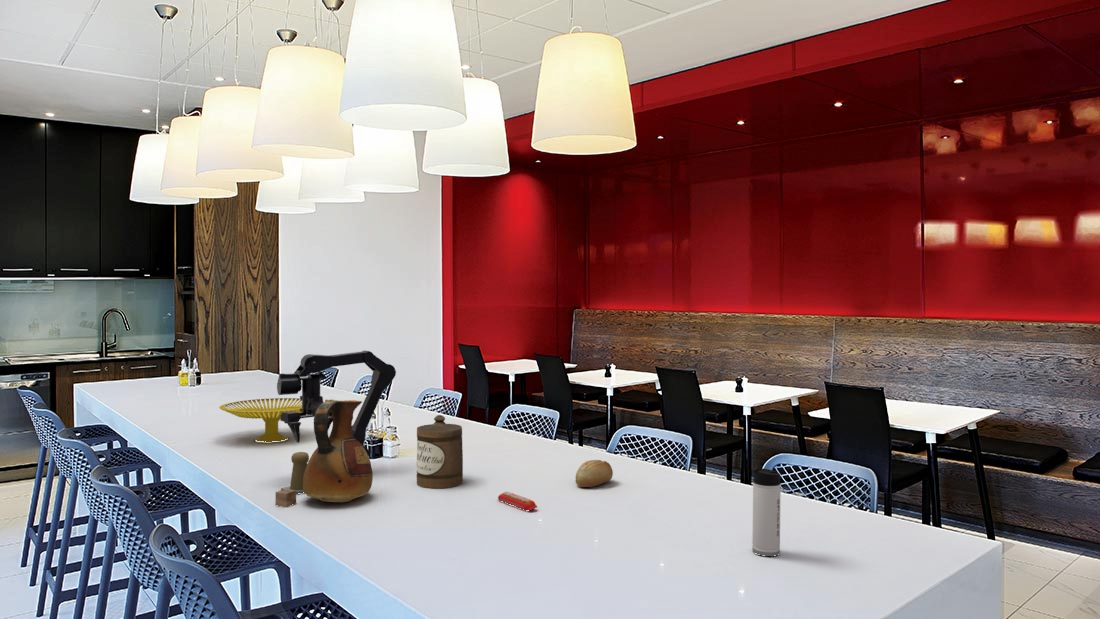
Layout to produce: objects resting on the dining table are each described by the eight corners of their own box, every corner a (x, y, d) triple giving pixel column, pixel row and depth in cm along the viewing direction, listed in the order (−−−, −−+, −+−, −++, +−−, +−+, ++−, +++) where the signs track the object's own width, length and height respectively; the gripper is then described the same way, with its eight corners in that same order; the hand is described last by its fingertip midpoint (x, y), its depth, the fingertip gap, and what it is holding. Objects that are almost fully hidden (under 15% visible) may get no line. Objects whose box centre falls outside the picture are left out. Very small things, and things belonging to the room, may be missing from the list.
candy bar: (495, 501, 217) (495, 491, 217) (505, 499, 219) (505, 489, 219) (528, 514, 205) (528, 503, 204) (538, 511, 207) (538, 501, 207)
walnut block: (285, 502, 214) (285, 488, 214) (296, 504, 212) (296, 490, 212) (275, 505, 210) (275, 492, 210) (286, 507, 209) (286, 493, 209)
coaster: (304, 485, 233) (304, 483, 233) (318, 490, 227) (318, 487, 227) (281, 490, 227) (281, 487, 227) (293, 495, 221) (293, 492, 221)
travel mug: (747, 548, 177) (748, 466, 176) (773, 547, 177) (774, 465, 177) (756, 557, 170) (757, 472, 170) (784, 557, 171) (785, 471, 171)
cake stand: (302, 450, 286) (302, 412, 285) (200, 449, 286) (200, 411, 286) (334, 431, 326) (334, 398, 326) (244, 430, 326) (244, 397, 326)
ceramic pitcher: (385, 493, 224) (385, 396, 223) (346, 512, 205) (346, 405, 204) (330, 488, 230) (330, 393, 229) (288, 505, 211) (288, 401, 210)
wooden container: (407, 483, 237) (407, 415, 236) (443, 475, 248) (443, 410, 247) (436, 491, 227) (436, 420, 226) (472, 482, 238) (472, 415, 237)
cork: (303, 490, 223) (303, 455, 223) (285, 489, 225) (285, 454, 224) (314, 485, 229) (314, 450, 229) (296, 484, 231) (296, 450, 230)
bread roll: (620, 483, 239) (621, 458, 238) (592, 492, 227) (592, 466, 227) (597, 478, 245) (597, 454, 245) (568, 486, 234) (568, 461, 234)
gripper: (297, 398, 227) (296, 448, 227) (349, 392, 241) (349, 440, 241) (279, 394, 234) (279, 443, 235) (331, 389, 248) (331, 435, 248)
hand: (311, 440), depth 239 cm, fingers open, 9 cm apart
